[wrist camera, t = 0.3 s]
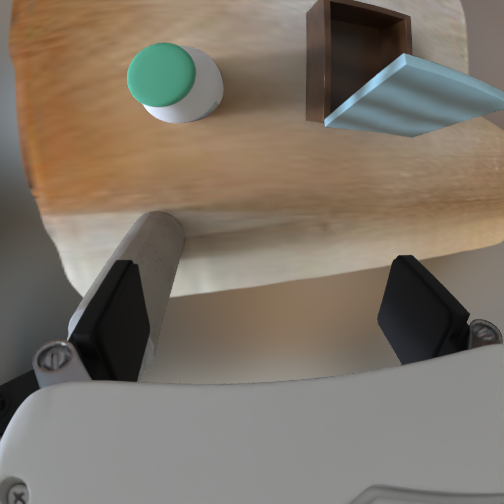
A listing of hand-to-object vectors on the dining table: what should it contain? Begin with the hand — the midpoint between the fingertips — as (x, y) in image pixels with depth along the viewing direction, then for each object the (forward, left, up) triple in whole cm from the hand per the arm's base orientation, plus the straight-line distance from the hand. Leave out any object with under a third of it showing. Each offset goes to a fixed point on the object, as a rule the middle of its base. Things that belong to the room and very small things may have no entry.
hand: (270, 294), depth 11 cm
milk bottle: (-9, -6, -31) cm, 33 cm away
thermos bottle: (+11, -12, -31) cm, 35 cm away
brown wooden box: (-13, +14, -31) cm, 37 cm away
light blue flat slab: (-8, +14, -15) cm, 22 cm away
